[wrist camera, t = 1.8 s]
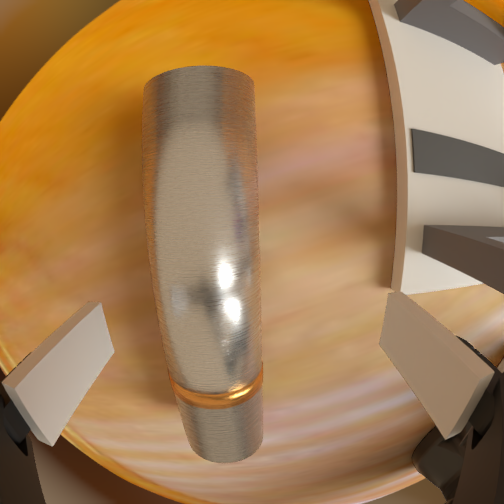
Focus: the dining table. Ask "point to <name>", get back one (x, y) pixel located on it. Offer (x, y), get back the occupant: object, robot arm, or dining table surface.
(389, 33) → the cradle stand
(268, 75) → the dining table surface
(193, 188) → the steel tube
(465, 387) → the robot arm
